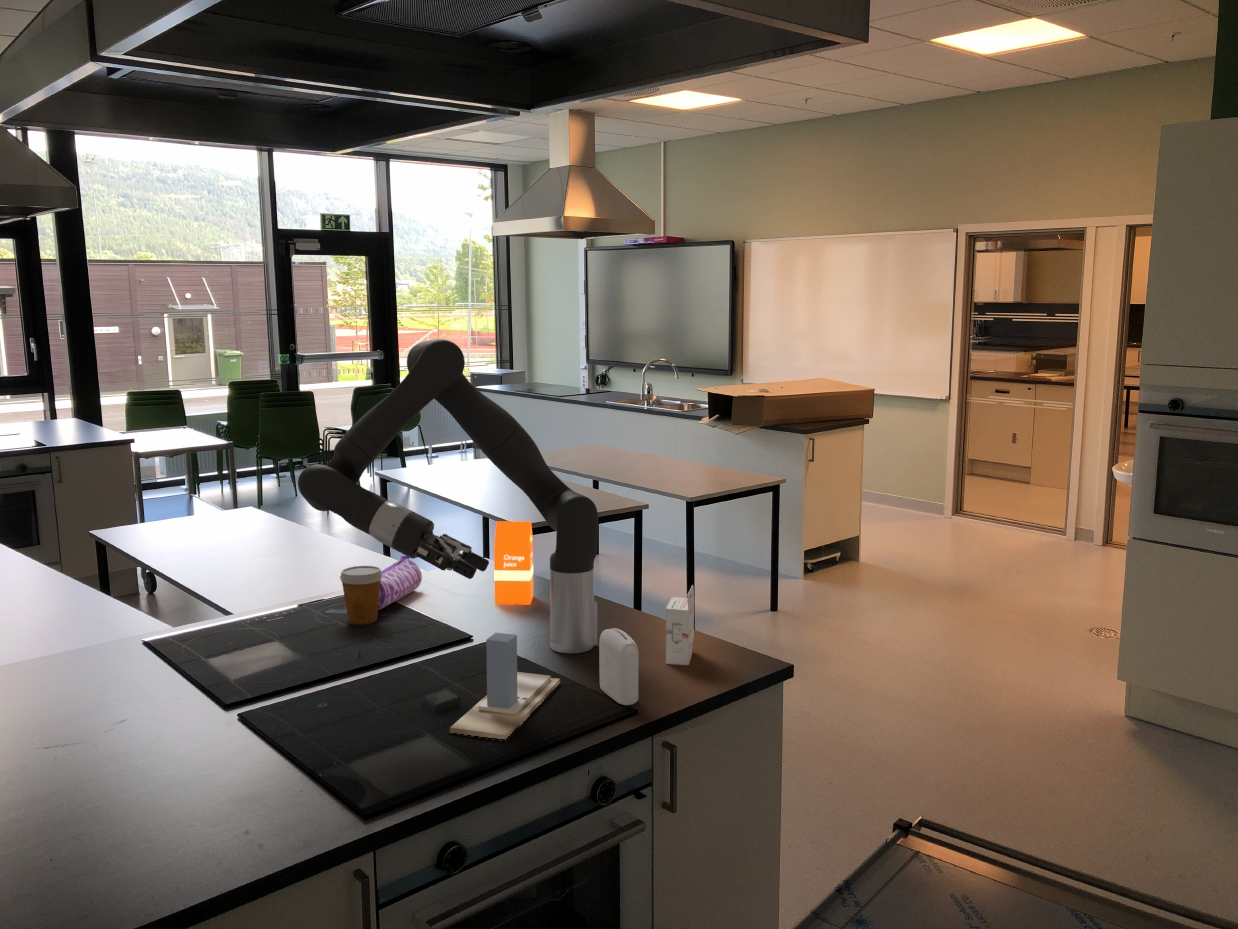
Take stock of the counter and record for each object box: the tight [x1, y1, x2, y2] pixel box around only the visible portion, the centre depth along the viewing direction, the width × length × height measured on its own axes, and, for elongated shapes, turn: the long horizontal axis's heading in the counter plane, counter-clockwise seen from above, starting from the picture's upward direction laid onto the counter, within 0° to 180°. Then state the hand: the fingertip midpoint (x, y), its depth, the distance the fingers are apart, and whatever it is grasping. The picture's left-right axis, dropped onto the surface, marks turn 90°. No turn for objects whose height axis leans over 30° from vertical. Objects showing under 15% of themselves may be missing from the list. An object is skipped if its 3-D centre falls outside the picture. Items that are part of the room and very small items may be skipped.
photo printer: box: [598, 628, 639, 706], centre depth 171 cm, size 10×4×12 cm, turn 26°
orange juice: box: [493, 520, 534, 606], centre depth 231 cm, size 8×9×20 cm
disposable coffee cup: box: [339, 565, 383, 625], centre depth 214 cm, size 10×10×12 cm
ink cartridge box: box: [665, 584, 695, 666], centre depth 191 cm, size 9×5×15 cm, turn 168°
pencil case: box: [378, 555, 423, 611], centre depth 231 cm, size 22×9×10 cm, turn 169°
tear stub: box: [478, 632, 526, 715], centre depth 163 cm, size 5×7×13 cm
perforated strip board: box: [449, 671, 561, 741], centre depth 167 cm, size 26×10×2 cm, turn 163°
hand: (480, 570), depth 166 cm, fingers open, 8 cm apart
